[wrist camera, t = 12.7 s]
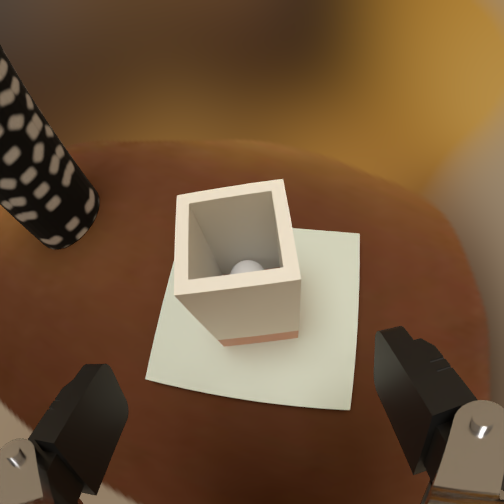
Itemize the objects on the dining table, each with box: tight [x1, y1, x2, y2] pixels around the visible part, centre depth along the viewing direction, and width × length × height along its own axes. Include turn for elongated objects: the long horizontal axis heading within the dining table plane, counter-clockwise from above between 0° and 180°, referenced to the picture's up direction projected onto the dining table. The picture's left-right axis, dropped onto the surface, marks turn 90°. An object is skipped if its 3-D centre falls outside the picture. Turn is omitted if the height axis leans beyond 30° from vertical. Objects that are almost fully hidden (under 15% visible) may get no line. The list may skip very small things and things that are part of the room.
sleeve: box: [174, 179, 301, 346], centre depth 18 cm, size 5×5×10 cm
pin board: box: [145, 228, 360, 410], centre depth 20 cm, size 14×13×8 cm
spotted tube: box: [0, 45, 99, 249], centre depth 22 cm, size 8×8×20 cm
